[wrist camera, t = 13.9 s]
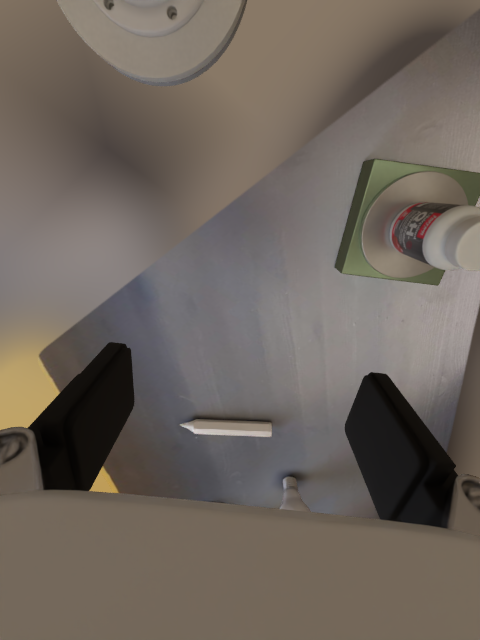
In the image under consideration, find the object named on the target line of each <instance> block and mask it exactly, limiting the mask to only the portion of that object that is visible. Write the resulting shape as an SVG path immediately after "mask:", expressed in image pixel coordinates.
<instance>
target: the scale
mask: <svg viewBox="0 0 480 640" xmlns="http://www.w3.org/2000/svg"><path fill="white" fill-rule="evenodd" d="M424 171H435V172H440V173H443V174H446V175H448V176H450V177H452V178H453V179H455V180H456V181H457V182H458V183H459V184H460V186H461V187H462V188H463V190H464V192H465V194H466V197H467V201H468V205H470V206H475V205H476V203H477V201H478V198H479V196H480V173H476V172H469V171H462V170H454V169H447V168H440V167H432V166H425V165H418V164H410V163H403V162H396V161H388V160H381V159H372V160H368V161H364V162H363V166H362V170H361V173H360V177H359V180H358V184H357V188H356V191H355V195H354V199H353V202H352V206H351V209H350V213H349V217H348V220H347V224H346V228H345V231H344V235H343V238H342V242H341V246H340V249H339V253H338V257H337V260H336V264H335V268H336V269H337V270H338V271H340V272H341V273H342V274H349V275H357V276H366V277H374V278H382V279H390V280H398V281H406V282H414V283H422V284H430V285H439V283H440V281H441V279H442V277H443V274H444V272H445V270H442V269H438V268H435V267H434V268H433V269H431V270H429V271H427V272H425V273H423V274H420V275H417V276H413V277H408V278H394V277H389V276H386V275H383V274H381V273H380V272H378V271H376V270H375V269H373V268H372V267H371V266H370V265H369V264H368V263H367V261H366V260H365V258H364V256H363V254H362V252H361V248H360V243H359V232H360V226H361V222H362V219H363V216H364V214H365V212H366V210H367V208H368V206H369V205H370V203H371V202H372V200H373V199H374V198H375V197H376V195H377V194H378V193H379V192H380V191H381V190H382V189H384V188H385V187H386V186H387V185H388V184H390V183H391V182H393V181H395V180H396V179H398V178H400V177H402V176H405V175H408V174H411V173H415V172H424Z"/></svg>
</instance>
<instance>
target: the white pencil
mask: <svg viewBox="0 0 480 640" xmlns="http://www.w3.org/2000/svg"><path fill="white" fill-rule="evenodd" d="M180 425H181V426H183V427H186V428H187V429H189V430H191V431H192V432H194V434H212V435H236V436H260V437H271V433H272V426H271V422H257V421H233V420H209V419H195V420H193V421H191V422H188V423H183V424H180Z"/></svg>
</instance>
